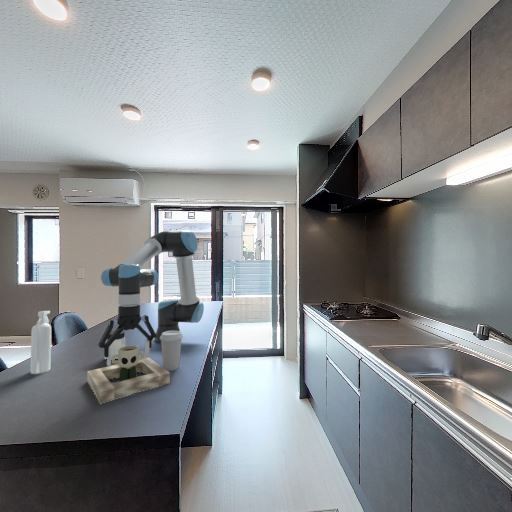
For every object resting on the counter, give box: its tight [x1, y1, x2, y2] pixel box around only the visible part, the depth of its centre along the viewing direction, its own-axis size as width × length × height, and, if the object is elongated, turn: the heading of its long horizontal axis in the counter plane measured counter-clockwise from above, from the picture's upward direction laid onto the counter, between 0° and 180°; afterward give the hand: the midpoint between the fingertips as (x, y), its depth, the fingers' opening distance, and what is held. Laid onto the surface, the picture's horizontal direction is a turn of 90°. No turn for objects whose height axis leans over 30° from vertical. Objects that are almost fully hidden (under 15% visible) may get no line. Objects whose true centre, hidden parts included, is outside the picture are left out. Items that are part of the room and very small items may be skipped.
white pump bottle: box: [29, 310, 52, 375], centre depth 113 cm, size 7×12×25 cm, turn 18°
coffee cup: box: [160, 330, 184, 372], centre depth 117 cm, size 10×10×15 cm
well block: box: [86, 357, 171, 404], centre depth 102 cm, size 23×22×4 cm
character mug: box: [111, 344, 145, 382], centre depth 102 cm, size 11×7×13 cm, turn 119°
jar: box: [103, 330, 126, 360], centre depth 129 cm, size 9×8×12 cm
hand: (128, 361), depth 103 cm, fingers open, 13 cm apart
